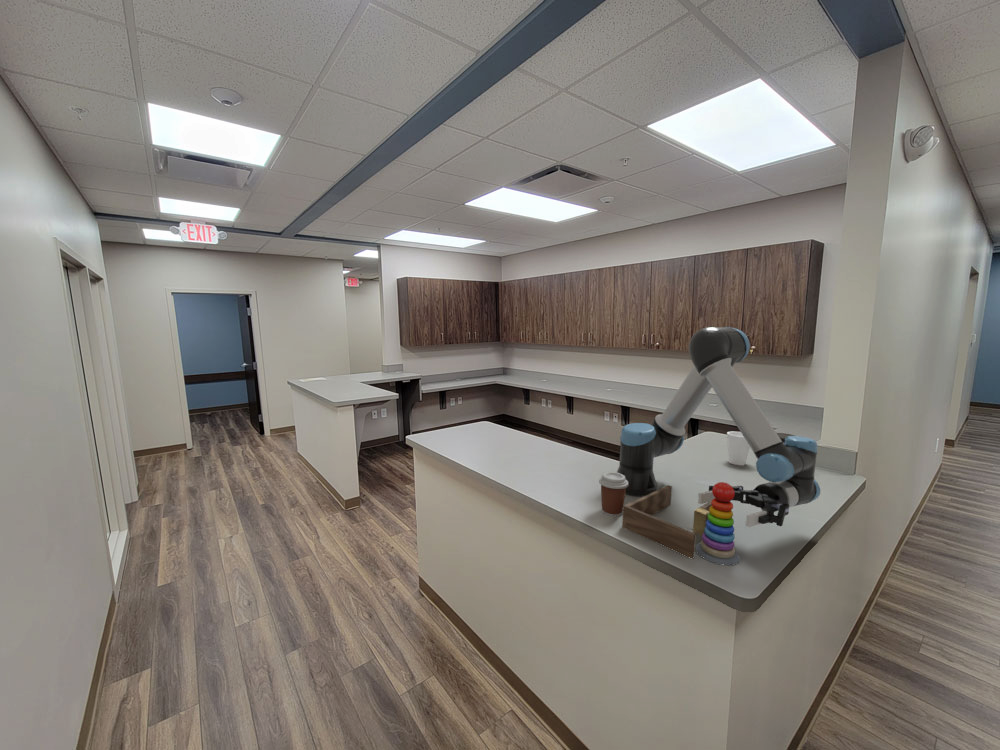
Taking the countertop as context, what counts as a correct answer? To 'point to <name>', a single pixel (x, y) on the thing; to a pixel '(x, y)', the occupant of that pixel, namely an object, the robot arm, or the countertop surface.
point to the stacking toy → (720, 523)
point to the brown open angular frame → (659, 522)
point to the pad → (716, 559)
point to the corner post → (699, 520)
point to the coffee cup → (613, 493)
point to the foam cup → (737, 448)
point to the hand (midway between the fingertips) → (722, 509)
